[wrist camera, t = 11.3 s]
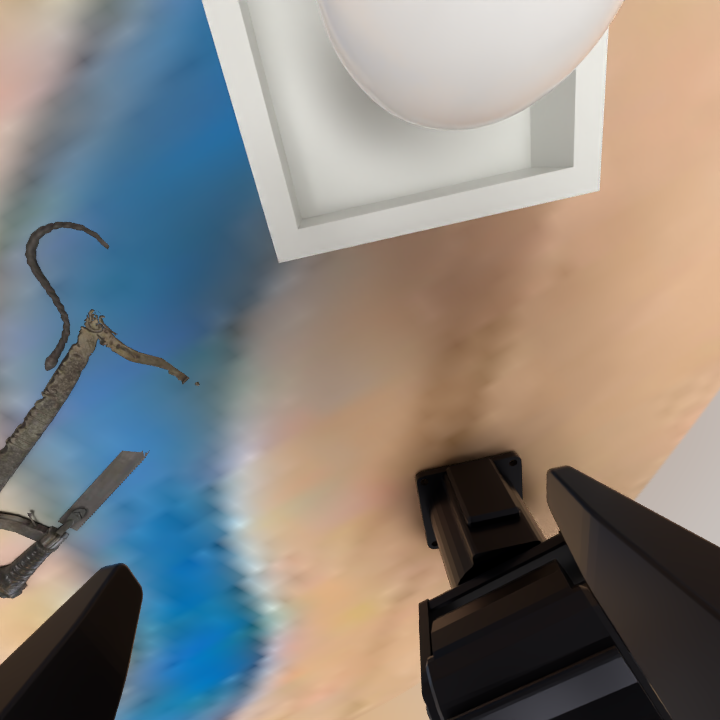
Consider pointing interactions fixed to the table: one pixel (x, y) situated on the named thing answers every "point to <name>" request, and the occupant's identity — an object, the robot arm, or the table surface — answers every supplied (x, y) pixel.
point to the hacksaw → (40, 416)
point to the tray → (385, 139)
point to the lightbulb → (462, 53)
